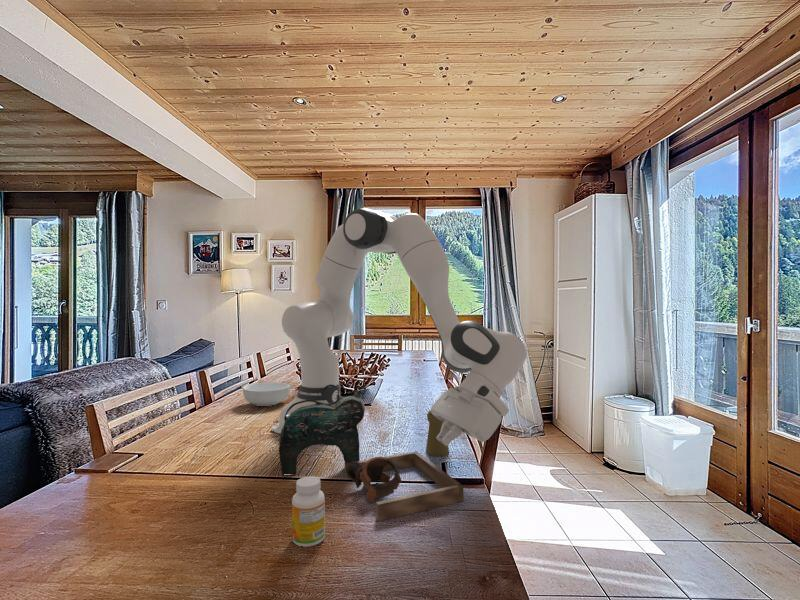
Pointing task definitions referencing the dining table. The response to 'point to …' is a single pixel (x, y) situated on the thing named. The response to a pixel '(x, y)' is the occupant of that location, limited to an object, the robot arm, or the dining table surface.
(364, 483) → the pottery mug
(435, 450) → the cork
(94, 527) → the dining table surface
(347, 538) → the dining table surface
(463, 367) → the robot arm
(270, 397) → the cereal bowl
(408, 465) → the wooden open frame
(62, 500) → the dining table surface
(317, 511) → the supplement bottle
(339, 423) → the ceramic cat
